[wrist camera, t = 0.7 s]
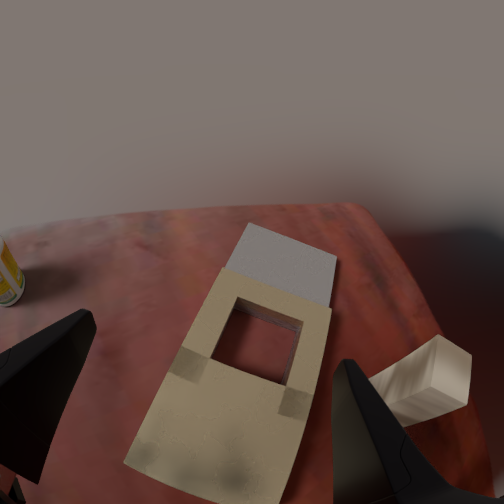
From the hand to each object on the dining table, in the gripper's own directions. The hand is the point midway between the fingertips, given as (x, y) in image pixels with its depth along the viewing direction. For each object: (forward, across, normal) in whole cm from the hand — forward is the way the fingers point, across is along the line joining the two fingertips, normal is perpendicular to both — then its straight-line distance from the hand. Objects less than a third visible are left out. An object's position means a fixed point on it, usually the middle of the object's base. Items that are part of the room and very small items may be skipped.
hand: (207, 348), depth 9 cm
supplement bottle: (+8, +27, +11) cm, 30 cm away
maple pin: (+8, -16, +16) cm, 24 cm away
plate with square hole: (+12, -2, +13) cm, 18 cm away
